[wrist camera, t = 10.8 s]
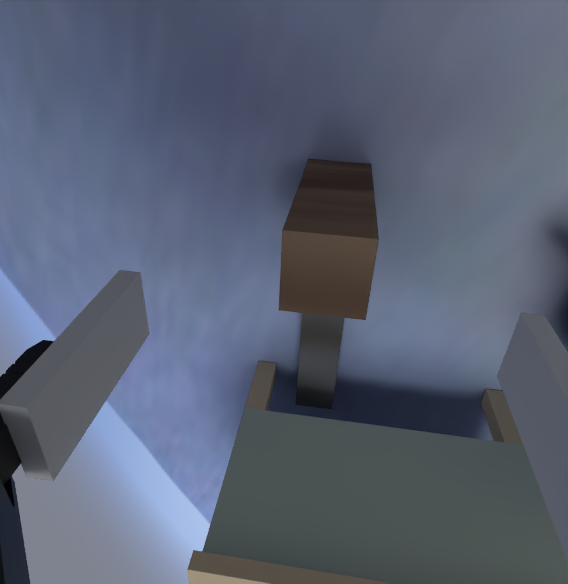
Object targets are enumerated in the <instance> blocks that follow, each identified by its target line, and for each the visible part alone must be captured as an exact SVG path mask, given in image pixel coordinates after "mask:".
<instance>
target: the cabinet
mask: <svg viewBox="0 0 568 584" xmlns="http://www.w3.org/2000/svg"><path fill="white" fill-rule="evenodd" d="M275 378H276V363H272V362H264V361H259V362H258V365H257V368H256V372H255V375H254V379H253V382H252V385H251V389H250V392H249V396H248V399H247V402H246V406H245V409H244V412H243V416H242V419H241V423H240V426H239V429H238V433H237V436H236V440H235V443H234V446H233V450H232V453H231V457H230V460H229V463H228V467H227V470H226V474H225V477H224V480H223V484H222V487H221V491H220V494H219V497H218V501H217V504H216V508H215V511H214V514H213V518H212V521H211V525H210V528H209V532H208V535H207V538H206V542H205V545H204V548H203V552H201V551H195V550H193V554H192V557H191V560H190V564H189V566H188V578H189V584H568V561H567V559H566V556H565V553H564V551H563V548H562V545H561V543H560V540H559V538H558V535H557V532H556V530H555V527H554V524H553V522H552V519H551V516H550V514H549V511H548V509H547V506H546V503H545V501H544V498H543V495H542V493H541V490H540V487H539V485H538V482H537V480H536V477H535V474H534V472H533V469H532V466H531V464H530V461H529V458H528V456H527V453H526V451H525V448H524V445H523V443H522V440H521V437H520V435H519V432H518V429H517V427H516V424H515V422H514V419H513V416H512V414H511V411H510V408H509V406H508V403H507V400H506V398H505V395H504V393H503V391H499V390H491V389H486V390H485V393H484V396H483V399H482V402H481V404H482V407H483V410H484V413H485V416H486V419H487V422H488V425H489V428H490V431H491V434H492V437H493V441H490V440H483V439H475V438H468V437H460V436H453V435H445V434H438V433H430V432H423V431H416V430H408V429H401V428H393V427H386V426H378V425H371V424H363V423H356V422H348V421H341V420H333V419H326V418H318V417H311V416H303V415H296V414H288V413H281V412H273V411H268V408H269V404H270V399H271V395H272V391H273V386H274V382H275Z"/></svg>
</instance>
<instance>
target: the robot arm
mask: <svg viewBox="0 0 568 584" xmlns="http://www.w3.org/2000/svg"><path fill="white" fill-rule="evenodd" d="M148 335H149V328H148V322H147V315H146V308H145V301H144V294H143V287H142V280H141V273H140V272H133V271H123V270H120V271H119V272H118V273H117V274H116V275H115V276H114V277H113V278H112V279H111V280H110V281H109V283H108V284H107V285H106V286H105V287H104V288H103V289H102V290H101V291H100V292H99V293H98V294H97V296H96V297H95V298H94V299H93V300H92V301H91V302H90V303H89V304H88V305H87V306H86V307H85V309H84V310H83V311H82V312H81V313H80V314H79V315H78V316H77V317H76V318H75V319H74V320H73V322H72V323H71V324H70V325H69V326H68V327H67V328H66V329H65V330H64V331H63V332H62V333H61V335H60V336H59V337H58V338H57V339H56V340H55V341H47V340H43V341H41V342H39V343H37V344H36V345H34V346H32V347H31V348H29V349H27V350H26V351H25V352H24V353H23V354H22V355H21V356H20V357H19V358H18V359H17V360H16V361H15V364H12V365H11V366H10V367H9V368H8V369H7V370H6V373H5V374H2V376H1V377H0V584H30V579H29V573H28V566H27V560H26V553H25V548H24V540H23V534H22V527H21V521H20V515H19V508H18V502H17V495H16V488H15V482H14V480H13V478H12V474H13V473H14V472H15V470H16V469H17V468H18V466H19V465H20V464H21V465H22V467H23V470H24V472H25V475H26V477H28V478H35V479H41V480H47V481H54V480H55V478H56V476H57V475H58V473H59V472H60V470H61V469H62V467H63V466H64V464H65V463H66V461H67V460H68V458H69V456H70V455H71V453H72V452H73V450H74V449H75V447H76V446H77V444H78V442H79V441H80V440H81V438H82V437H83V435H84V433H85V432H86V430H87V429H88V427H89V425H90V424H91V423H92V421H93V420H94V418H95V417H96V415H97V413H98V412H99V410H100V409H101V407H102V406H103V404H104V403H105V401H106V400H107V398H108V397H109V395H110V393H111V392H112V390H113V389H114V387H115V386H116V384H117V383H118V381H119V380H120V378H121V377H122V375H123V373H124V372H125V370H126V369H127V367H128V366H129V364H130V363H131V361H132V360H133V358H134V357H135V355H136V353H137V352H138V350H139V349H140V347H141V346H142V344H143V343H144V341H145V340H146V338H147V337H148ZM497 377H498V379H499V382H500V385H501V387H502V390H503V393H504V395H505V398H506V400H507V403H508V406H509V408H510V411H511V414H512V416H513V419H514V422H515V424H516V427H517V429H518V432H519V435H520V437H521V440H522V443H523V445H524V448H525V451H526V453H527V456H528V458H529V461H530V464H531V466H532V469H533V472H534V474H535V477H536V480H537V482H538V485H539V487H540V490H541V493H542V495H543V498H544V501H545V503H546V506H547V509H548V511H549V514H550V516H551V519H552V522H553V524H554V527H555V530H556V532H557V535H558V538H559V540H560V543H561V545H562V548H563V551H564V553H565V556H566V559H567V561H568V352H567V350H566V349H565V347H564V346H563V344H562V342H561V341H560V339H559V337H558V336H557V334H556V332H555V331H554V329H553V328H552V326H551V324H550V323H549V321H548V319H547V318H546V316H544V315H534V314H525V313H521V314H520V317H519V320H518V322H517V325H516V328H515V330H514V333H513V335H512V338H511V341H510V343H509V346H508V349H507V351H506V354H505V356H504V359H503V362H502V364H501V367H500V370H499V372H498V375H497Z"/></svg>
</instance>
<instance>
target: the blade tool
mask: <svg viewBox="0 0 568 584" xmlns="http://www.w3.org/2000/svg"><path fill="white" fill-rule="evenodd" d="M378 240H379V238H378V228H377V218H376V208H375V198H374V188H373V178H372V168H371V164H364V163H352V162H339V161H327V160H314V159H308V162H307V165H306V167H305V170H304V173H303V176H302V178H301V181H300V184H299V187H298V189H297V192H296V195H295V197H294V200H293V203H292V206H291V208H290V211H289V214H288V217H287V219H286V222H285V225H284V227H283V230H282V252H281V274H280V296H279V310H282V311H291V312H299V313H303V314H302V327H301V340H300V353H299V366H298V379H297V392H296V405H303V406H311V407H318V408H326V409H332V405H333V398H334V390H335V383H336V375H337V368H338V360H339V353H340V345H341V338H342V330H343V323H344V318H353V319H362V320H366V314H367V308H368V302H369V296H370V290H371V283H372V277H373V271H374V265H375V259H376V253H377V246H378Z"/></svg>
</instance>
